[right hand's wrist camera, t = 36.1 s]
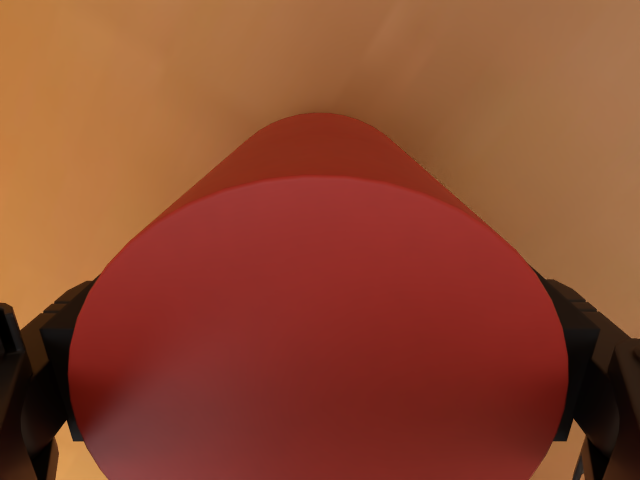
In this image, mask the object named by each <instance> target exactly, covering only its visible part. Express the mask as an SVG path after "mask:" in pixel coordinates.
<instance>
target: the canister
mask: <svg viewBox="0 0 640 480" xmlns="http://www.w3.org/2000/svg"><path fill="white" fill-rule="evenodd" d="M68 382H69V393H70V401H71V405H72V409H73V413H74V416H75V420H76V424H77V427H78V429H79V431H80V433H81V436H82V438H83V440H84V443H85V445H86V447H87V449H88V451H89V452H90V454H91V455H92V457H93V459H94V460H95V462H96V464H97V465H98V467H99V468H100V470H101V471H102V472H103V473H104V475H105V476H106V477H107V478H108V480H529V479H530V477H531V476H532V475H533V473H534V472H535V470H536V469H537V468H538V466H539V465H540V463H541V462H542V460H543V459H544V457H545V456H546V454H547V452H548V450H549V448H550V446H551V444H552V442H553V440H554V438H555V436H556V434H557V431H558V428H559V425H560V422H561V419H562V416H563V412H564V409H565V403H566V397H567V390H568V383H569V380H568V354H567V349H566V343H565V338H564V333H563V328H562V325H561V323H560V320H559V317H558V315H557V312H556V310H555V307H554V304H553V302H552V300H551V298H550V296H549V295H548V293H547V291H546V290H545V288H544V286H543V284H542V283H541V281H540V279H539V278H538V276H537V274H536V273H535V272H534V271H533V270H532V268H531V267H530V266H529V265H528V264H527V263H526V261H525V260H524V259H523V258H522V257H521V255H520V254H519V253H518V252H517V251H516V249H514V248H513V247H512V246H511V245H510V244H509V243H508V242H506V241H505V240H504V239H503V238H502V237H501V236H500V235H498V234H497V233H496V232H495V231H494V230H493V229H492V228H490V227H489V226H488V225H487V224H486V223H485V222H484V221H483V220H481V219H480V218H479V217H478V216H477V215H476V214H475V213H473V212H472V211H471V210H470V209H469V208H468V207H467V206H465V205H464V204H463V203H462V202H461V201H460V200H459V199H458V198H456V197H455V196H454V195H453V194H452V193H451V192H450V191H448V190H447V189H446V188H445V187H444V186H443V185H442V184H440V183H439V182H438V181H437V180H436V179H435V178H434V177H433V176H431V175H430V174H429V173H428V172H427V171H426V170H425V169H423V168H422V167H421V166H420V165H419V164H418V163H417V162H415V161H414V160H413V159H412V158H411V157H410V156H409V155H408V154H406V153H405V152H404V151H403V150H402V149H401V148H400V147H398V146H397V145H396V144H395V143H394V142H393V141H392V140H390V139H389V138H388V137H387V136H386V135H385V134H383V133H382V132H380V131H379V130H377V129H375V128H374V127H372V126H370V125H368V124H366V123H364V122H362V121H360V120H357V119H354V118H350V117H347V116H344V115H338V114H331V113H308V114H299V115H295V116H291V117H287V118H284V119H282V120H279V121H277V122H274V123H272V124H270V125H268V126H266V127H265V128H263V129H261V130H259V131H258V132H257V133H255V134H254V135H253V136H251V137H250V138H249V139H248V140H246V141H245V142H244V143H243V144H242V145H241V146H239V147H238V148H237V149H236V150H235V151H234V152H232V153H231V154H230V155H229V156H228V157H227V158H226V159H224V160H223V161H222V162H221V163H220V164H219V165H217V166H216V167H215V168H214V169H213V170H212V171H210V172H209V173H208V174H207V175H206V176H205V177H203V178H202V179H201V180H200V181H199V182H198V183H196V184H195V185H194V186H193V187H192V188H191V189H190V190H188V191H187V192H186V193H185V194H184V195H183V196H181V197H180V198H179V199H178V200H177V201H176V202H174V203H173V204H172V205H171V206H170V207H169V208H167V209H166V210H165V211H164V212H163V213H162V214H161V215H159V216H158V217H157V218H156V219H155V220H154V221H152V222H151V223H150V224H149V225H148V226H147V227H145V228H144V229H143V230H142V231H141V232H140V233H138V234H137V235H136V236H135V237H134V238H133V239H131V240H130V241H129V242H128V243H127V244H126V245H125V246H124V248H123V249H122V250H121V251H120V252H119V253H118V254H117V255H116V256H115V257H114V258H113V259H112V260H111V261H110V262H109V263H108V265H107V266H106V267H105V269H104V270H103V272H102V273H101V275H100V276H99V278H98V279H97V280H96V282H95V283H94V285H93V286H92V288H91V289H90V291H89V293H88V295H87V297H86V300H85V302H84V304H83V306H82V308H81V311H80V313H79V315H78V317H77V320H76V324H75V328H74V332H73V336H72V340H71V344H70V351H69V364H68Z"/></svg>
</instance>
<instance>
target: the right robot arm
mask: <svg viewBox="0 0 640 480" xmlns="http://www.w3.org/2000/svg"><path fill="white" fill-rule="evenodd" d="M526 263H527V262H526ZM527 264H528V263H527ZM528 265H529V264H528ZM529 266H530V265H529ZM530 267H531V266H530ZM531 268H532V267H531ZM532 270H533V271H534V272H535V273H536V274H537V276H538V278H539V279H540V281H541V283H542V284H543V286H544V288H545V290H546V291H547V293H548V295H549V296H550V298H551V300H552V302H553V304H554V307H555V310H556V312H557V315H558V317H559V320H560V323H561V325H562V328H563V333H564V338H565V343H566V349H567V354H568V380H569V383H568V390H567V397H566V403H565V409H564V412H563V416H562V419H561V422H560V425H559V428H558V431H557V434H556V436H555V438H554V440H553V441H567V438H568V435H569V431H570V428H571V425H572V422H573V418H574V419H575V421H576V422H577V423H578V425H579V426H580V427H581V429H582V430H583V432H584V433H585V434H586V437H585V440H584V443H583V446H582V449H581V452H580V455H579V458H578V461H577V464H576V467H575V470H574V474H573V480H580V478H581V475H582V474H583V473H584V476H585V480H640V339H636V338H632V339H631V338H630V337H629V336H628V335H627V334H625V333H624V332H623V331H622V330H621V329H620V328H618V327H617V326H616V325H615V324H614V323H612V322H611V321H610V320H609V319H608V318H606V317H605V316H604V315H603V314H602V313H600V312H597V309H596V308H595V307H593V306H592V305H591V304H590V303H589V302H586V300H585V299H584V298H583V297H581V296H580V295H579V294H578V293H577V292H575V291H574V290H573V289H571V288H569V287H567V286H565V285H563V284H561V283H559V282H557V281H555V280H546V279H544V278H543V277H542V276H541V275H540V274H539V273H538V272H537V271H535V270H534V269H533V268H532ZM100 275H101V274H100ZM100 275H99V276H100ZM99 276H98V277H96V278H95V279H94V280H93V281H86V282H84V283H82V284H80V285H78V286H76V287H74V288H72V289H70V290H68V291H66V292H65V293H64V294H63V295H62V296H60V297H59V298H58V299H57V300H56V301H55V302H54V304H51V305H50V306H49V307H47V308H46V309H45V310H44V311H43V313H40V314H39V315H38V316H37V317H36V318H34V319H33V320H32V321H31V322H30V323H29V324H27V325H26V326H25V327H24V328H23V329H21V330H20V329H19V326H18V323H17V320H16V317H15V314H14V311H13V308H12V306H10V305H8V304H6V303H0V480H55V478H56V470H57V463H58V456H59V452H58V446H57V443H56V440H55V437H54V436H55V435H56V433H57V432H58V431H59V429H60V428H61V427H62V425H63V424H64V423H65V421H66V420H67V423H68V426H69V429H70V432H71V436H72V439H73V441H84V440H83V438H82V436H81V433H80V431H79V429H78V427H77V424H76V420H75V416H74V413H73V409H72V405H71V401H70V393H69V382H68V364H69V351H70V344H71V340H72V336H73V332H74V328H75V324H76V320H77V317H78V315H79V313H80V311H81V308H82V306H83V304H84V302H85V300H86V297H87V295H88V293H89V291H90V289H91V288H92V286H93V285H94V283H95V282H96V280H97V279H98V278H99Z"/></svg>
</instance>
